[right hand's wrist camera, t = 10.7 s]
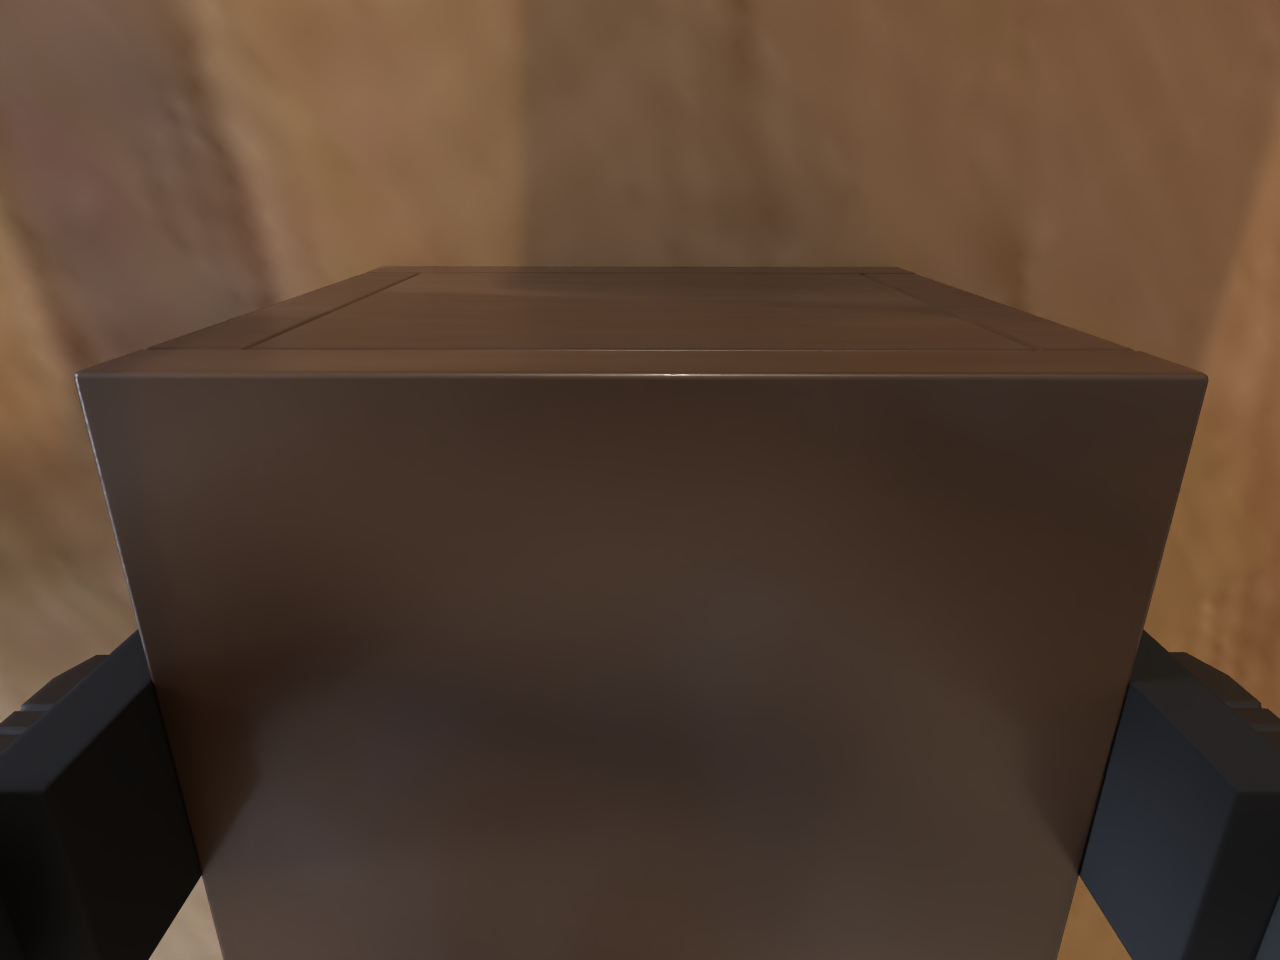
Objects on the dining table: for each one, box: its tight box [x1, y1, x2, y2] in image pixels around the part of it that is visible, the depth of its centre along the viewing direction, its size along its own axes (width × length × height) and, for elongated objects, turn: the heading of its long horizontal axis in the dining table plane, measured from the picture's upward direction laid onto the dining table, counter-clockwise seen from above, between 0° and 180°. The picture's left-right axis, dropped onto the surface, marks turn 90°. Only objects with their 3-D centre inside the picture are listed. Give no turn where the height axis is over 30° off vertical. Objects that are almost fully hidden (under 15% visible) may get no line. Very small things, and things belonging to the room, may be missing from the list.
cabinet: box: [74, 267, 1208, 960], centre depth 15 cm, size 21×10×9 cm, turn 0°
